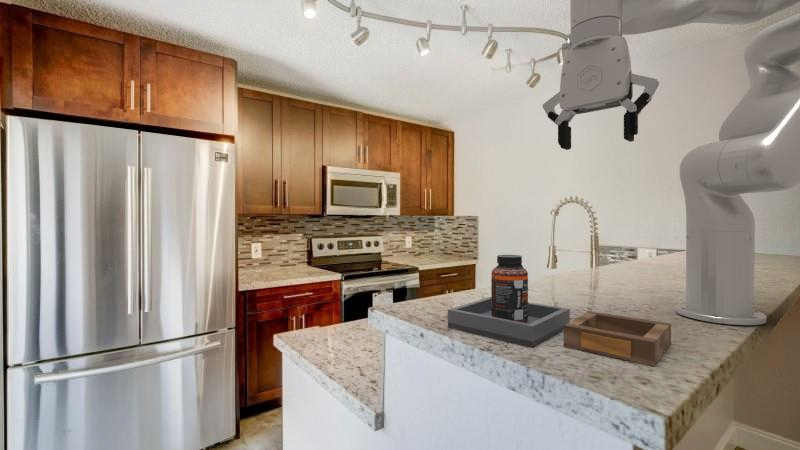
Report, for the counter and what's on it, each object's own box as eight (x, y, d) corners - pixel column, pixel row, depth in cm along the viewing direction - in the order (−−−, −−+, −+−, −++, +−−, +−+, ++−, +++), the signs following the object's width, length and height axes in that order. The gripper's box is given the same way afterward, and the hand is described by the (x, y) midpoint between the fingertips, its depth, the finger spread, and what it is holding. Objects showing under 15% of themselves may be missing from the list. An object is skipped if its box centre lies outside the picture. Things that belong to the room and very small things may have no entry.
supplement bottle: (530, 328, 61) (530, 257, 61) (492, 326, 62) (491, 257, 62) (525, 318, 67) (525, 253, 67) (491, 316, 68) (490, 253, 68)
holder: (589, 329, 63) (589, 311, 63) (671, 344, 55) (671, 323, 55) (562, 346, 54) (562, 325, 54) (653, 367, 47) (653, 342, 47)
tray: (491, 311, 75) (491, 296, 75) (569, 326, 64) (569, 308, 64) (447, 327, 65) (447, 309, 65) (532, 347, 54) (532, 326, 54)
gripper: (534, 49, 66) (534, 149, 66) (652, 10, 54) (652, 132, 54) (552, 61, 71) (552, 153, 71) (663, 29, 59) (663, 140, 59)
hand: (595, 144), depth 63 cm, fingers open, 9 cm apart
